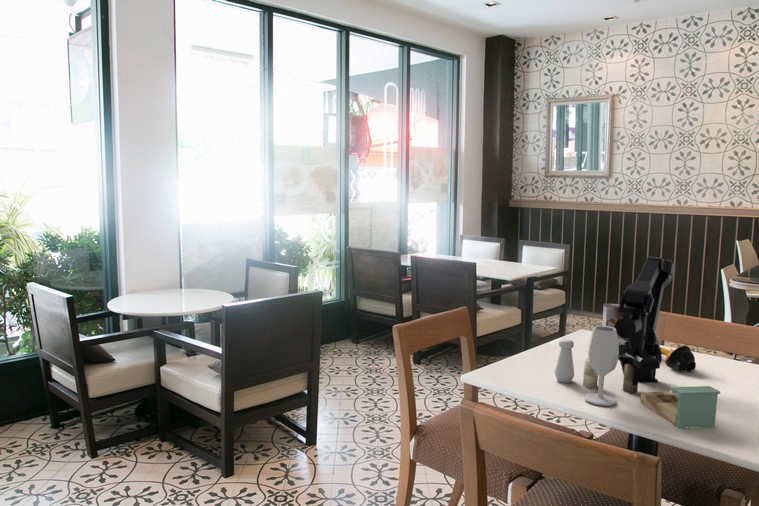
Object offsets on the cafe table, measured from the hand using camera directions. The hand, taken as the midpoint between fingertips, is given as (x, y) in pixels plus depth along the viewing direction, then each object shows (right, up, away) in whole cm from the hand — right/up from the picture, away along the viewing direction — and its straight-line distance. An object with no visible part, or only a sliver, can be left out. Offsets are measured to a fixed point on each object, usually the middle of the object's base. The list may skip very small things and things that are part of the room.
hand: (630, 382), depth 178 cm
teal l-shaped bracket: (+6, -6, -23) cm, 25 cm away
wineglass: (-12, -4, -8) cm, 15 cm away
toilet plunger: (+25, 0, +26) cm, 36 cm away
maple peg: (-11, -2, +4) cm, 11 cm away
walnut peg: (0, -3, 0) cm, 2 cm away
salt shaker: (-17, -1, +8) cm, 19 cm away
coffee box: (+13, +3, +46) cm, 48 cm away
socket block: (+5, -5, -16) cm, 17 cm away
